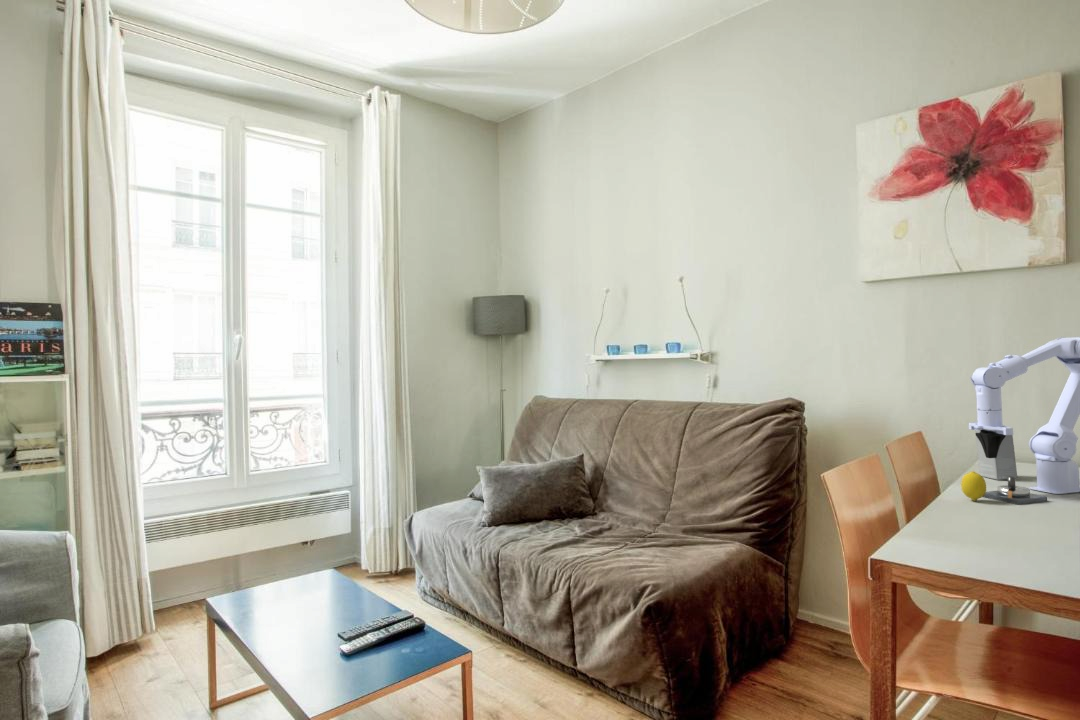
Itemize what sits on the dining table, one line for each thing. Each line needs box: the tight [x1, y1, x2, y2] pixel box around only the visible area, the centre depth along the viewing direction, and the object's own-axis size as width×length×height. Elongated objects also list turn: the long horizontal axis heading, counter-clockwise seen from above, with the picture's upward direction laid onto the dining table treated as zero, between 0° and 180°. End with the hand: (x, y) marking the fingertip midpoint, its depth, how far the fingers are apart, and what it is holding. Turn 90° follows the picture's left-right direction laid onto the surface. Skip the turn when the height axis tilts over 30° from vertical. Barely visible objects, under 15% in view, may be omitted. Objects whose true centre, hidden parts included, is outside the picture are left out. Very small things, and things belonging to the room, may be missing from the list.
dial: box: [996, 476, 1031, 497], centre depth 166 cm, size 7×7×5 cm
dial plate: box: [982, 490, 1048, 506], centre depth 166 cm, size 10×10×3 cm
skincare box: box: [974, 429, 1018, 481], centre depth 193 cm, size 8×7×16 cm
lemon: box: [960, 470, 987, 502], centre depth 165 cm, size 6×6×8 cm
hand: (991, 457), depth 173 cm, fingers closed
